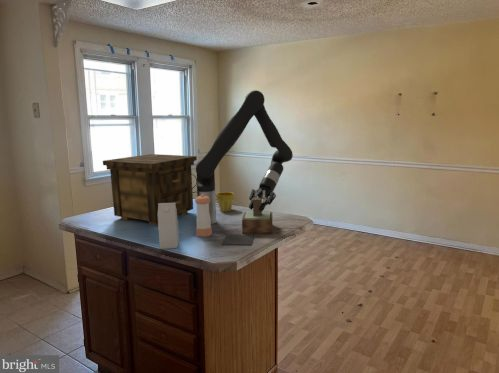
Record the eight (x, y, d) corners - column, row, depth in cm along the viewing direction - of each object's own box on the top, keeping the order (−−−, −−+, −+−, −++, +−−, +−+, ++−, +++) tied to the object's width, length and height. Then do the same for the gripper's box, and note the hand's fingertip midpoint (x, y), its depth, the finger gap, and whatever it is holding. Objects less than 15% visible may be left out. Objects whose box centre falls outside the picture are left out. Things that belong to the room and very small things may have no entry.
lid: (244, 220, 173) (243, 201, 171) (246, 213, 184) (246, 195, 183) (269, 220, 172) (269, 201, 170) (270, 213, 184) (270, 195, 182)
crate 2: (242, 233, 173) (242, 219, 172) (244, 224, 187) (244, 212, 185) (272, 233, 172) (272, 219, 171) (272, 225, 186) (272, 212, 184)
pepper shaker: (195, 232, 176) (193, 193, 172) (210, 231, 178) (208, 192, 174) (197, 237, 169) (195, 196, 165) (213, 235, 171) (211, 195, 167)
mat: (221, 245, 158) (221, 244, 158) (225, 235, 171) (225, 234, 171) (251, 245, 157) (251, 244, 157) (253, 235, 170) (253, 234, 170)
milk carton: (162, 243, 162) (159, 201, 158) (178, 242, 162) (176, 200, 159) (159, 249, 155) (156, 205, 151) (176, 248, 155) (174, 204, 152)
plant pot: (232, 212, 211) (231, 195, 209) (214, 211, 213) (214, 195, 211) (236, 208, 221) (235, 192, 219) (219, 207, 223) (219, 191, 221)
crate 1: (154, 206, 230) (150, 154, 223) (199, 212, 213) (196, 156, 206) (108, 220, 200) (102, 160, 194) (156, 229, 183) (151, 163, 177)
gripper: (255, 175, 185) (240, 203, 178) (278, 178, 176) (263, 207, 169) (261, 184, 190) (247, 211, 183) (284, 187, 181) (270, 216, 174)
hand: (255, 209), depth 176 cm, fingers closed on lid, 5 cm apart
